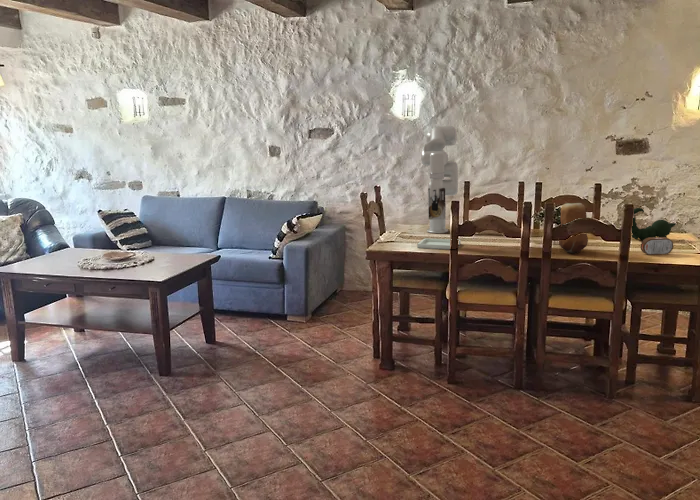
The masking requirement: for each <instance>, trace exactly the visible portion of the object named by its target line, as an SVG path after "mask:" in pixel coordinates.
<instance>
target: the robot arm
mask: <svg viewBox="0 0 700 500" xmlns="http://www.w3.org/2000/svg"><path fill="white" fill-rule="evenodd" d="M457 135H458V134H457V129H456V128H455V127H454V126H452V125H441V126H439V125H438V126H434V127H433V128H432V129H431V130H430V131H429V132H427V133H426V136H425V137H426V143H425V144H424V145H423V147H421V148H422V149H421V153H420V161H421V164H422V165H423V166H429V180H430V181H429V183H428V188H430V198H431V197H432V211H438V203H437V202H438V198H439V196H440V189H442V188H445V196H455V195H457V194H458V192H459V166H458V163H457V162H456V161H453V160H449V155H448V153H447V152H446V151H445V150H444V149H445V147H449V146H451V147H452V146H454V145H455V144H456V143H457V139H458V136H457ZM445 178H449V179H445ZM428 188H427V189H428ZM435 196H437V197H435ZM446 205H447V204H446V202H445V219H432V220H429V228H427V230H426V232H427V233H430V234H444V233H445V234H446V233H448V232H449V229H448V228H446V215H447V214H446V212H447V211H446V210H447V209H446V208H447V207H446Z"/></svg>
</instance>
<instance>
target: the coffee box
mask: <svg viewBox="0 0 700 500" xmlns="http://www.w3.org/2000/svg"><path fill="white" fill-rule="evenodd" d="M435 197H437V196H435ZM427 199H428V200H427V207H428V209H427V210H428V211H427V214H428V215H427V219H428V220H429V221H430V220H432V219H445V203H446V195H445V188H442V189H440V196H439V198H438V202H437V203H438V211H432V197H431V198H430V188H427ZM445 220H446V219H445Z"/></svg>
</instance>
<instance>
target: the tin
mask: <svg viewBox="0 0 700 500" xmlns="http://www.w3.org/2000/svg"><path fill="white" fill-rule="evenodd" d="M673 249H674V241H673V240H672V239H671V238H669V237H649V238H646V239H644V240H642V241H641V244H640V250H641V252H642V253H643V254H646V255H647V256H660V255H661V256H662V255H664V256H665V255H666V256H667V255H668V254H670V253H671V252H672V251H673Z"/></svg>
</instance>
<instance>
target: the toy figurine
mask: <svg viewBox="0 0 700 500" xmlns="http://www.w3.org/2000/svg"><path fill="white" fill-rule="evenodd" d="M633 210H634V218H633V226H632V233H631V236H632V237H631V238H632V239H634V240H642V241H643V240H644V239H646V238H649V237H667V236H670V233H671V231H672V228H674V227H675V226H677V223H674V222H673V223H672V222H669V221H667V220H666V219H657V220H655V221H653V222H652V224H651V225H649V226H646V227H644V228H642V227H641V228H639V227H638V224H637V222H636V221H637V220H636V217H635V214H638V213H639V212H642V213H644V212H645V210H644V209H643V208H642V207H636V208H633ZM667 238H668V237H667Z"/></svg>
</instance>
